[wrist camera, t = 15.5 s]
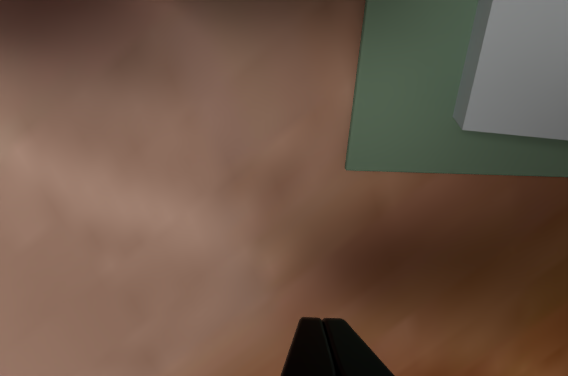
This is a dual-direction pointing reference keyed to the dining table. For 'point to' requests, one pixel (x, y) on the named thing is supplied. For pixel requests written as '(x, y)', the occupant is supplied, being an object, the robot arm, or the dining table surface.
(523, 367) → the dining table surface
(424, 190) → the dining table surface
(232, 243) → the dining table surface
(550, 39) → the slate domino
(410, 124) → the strip
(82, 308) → the dining table surface
